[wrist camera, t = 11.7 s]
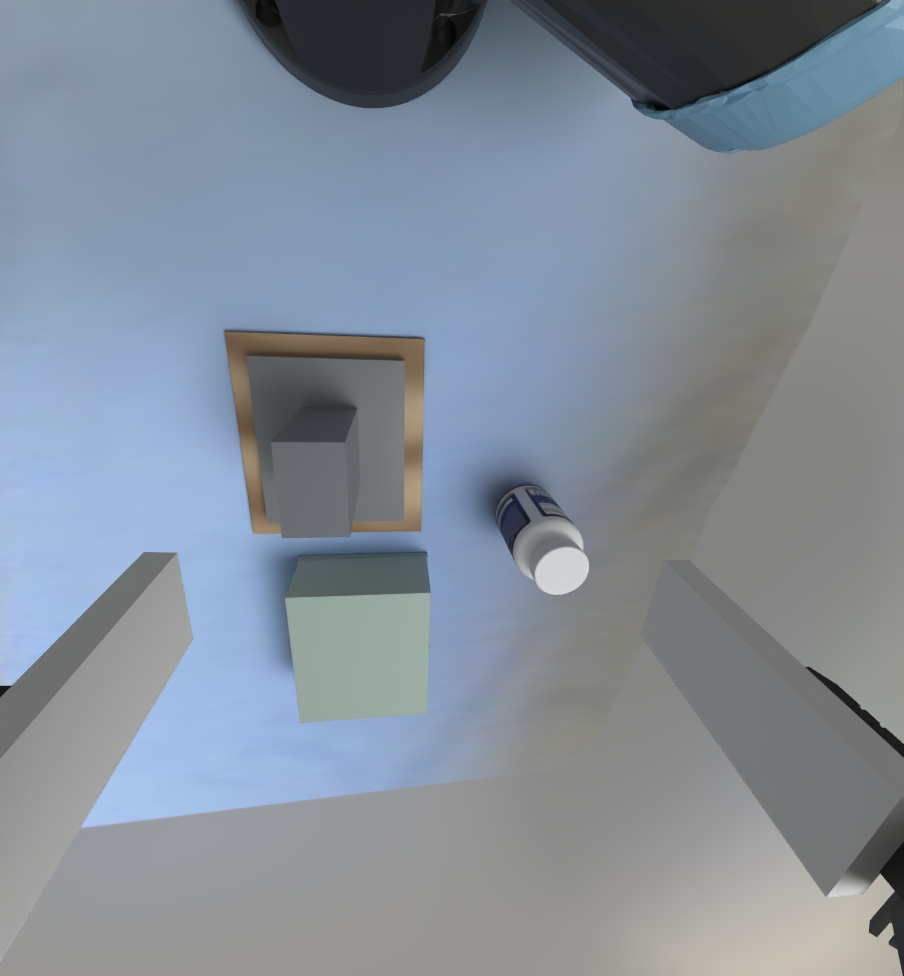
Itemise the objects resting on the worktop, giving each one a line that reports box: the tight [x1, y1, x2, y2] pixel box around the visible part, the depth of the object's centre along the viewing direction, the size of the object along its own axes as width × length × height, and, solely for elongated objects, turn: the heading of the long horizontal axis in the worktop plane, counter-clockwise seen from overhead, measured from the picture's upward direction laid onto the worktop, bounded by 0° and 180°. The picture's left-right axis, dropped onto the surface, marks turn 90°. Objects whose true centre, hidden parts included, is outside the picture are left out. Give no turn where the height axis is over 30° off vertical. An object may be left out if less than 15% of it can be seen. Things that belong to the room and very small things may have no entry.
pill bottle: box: [496, 486, 589, 595], centre depth 35 cm, size 5×5×10 cm
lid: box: [246, 355, 405, 538], centre depth 30 cm, size 13×11×10 cm
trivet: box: [225, 332, 425, 534], centre depth 35 cm, size 16×14×1 cm
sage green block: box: [285, 552, 431, 723], centre depth 39 cm, size 13×11×6 cm
